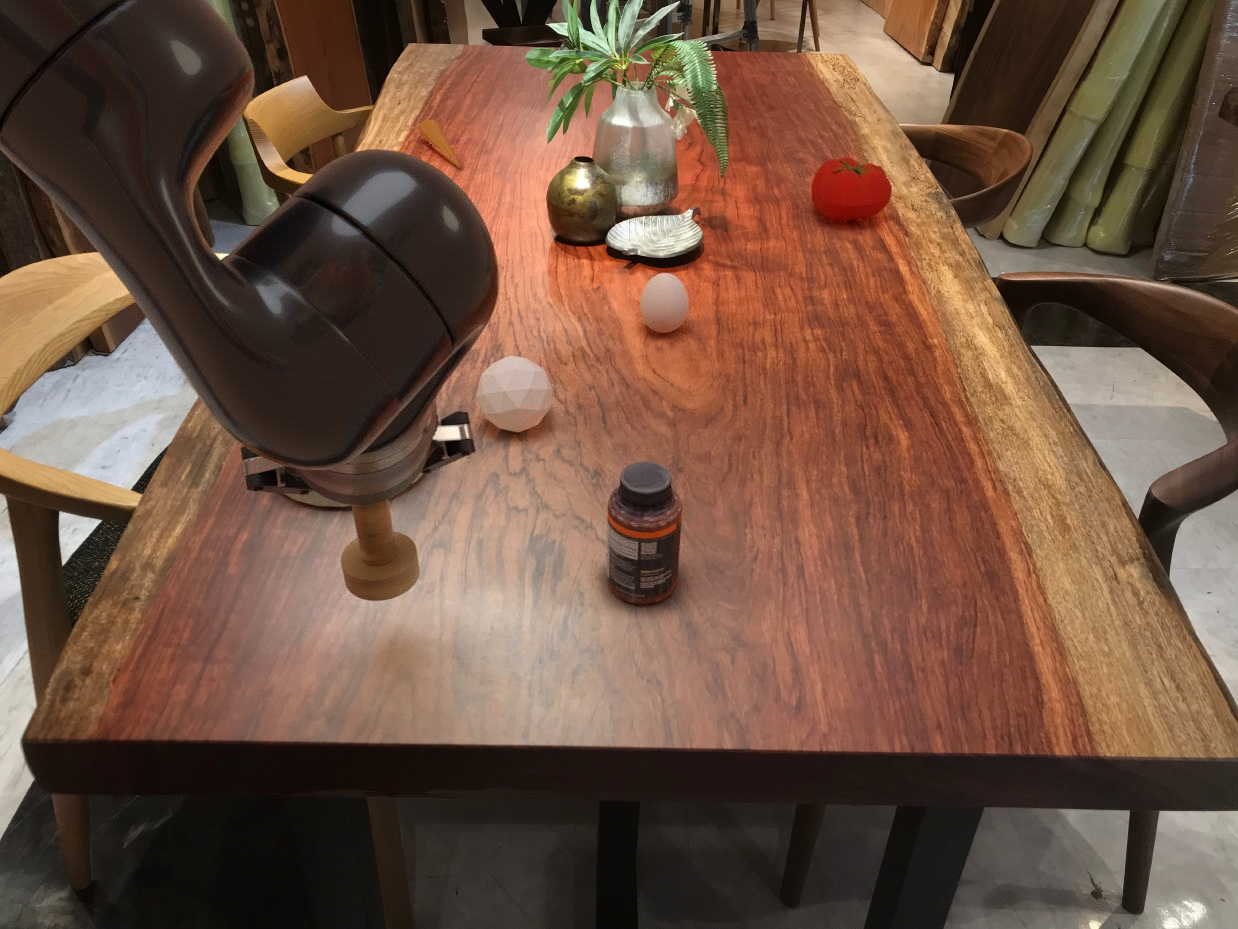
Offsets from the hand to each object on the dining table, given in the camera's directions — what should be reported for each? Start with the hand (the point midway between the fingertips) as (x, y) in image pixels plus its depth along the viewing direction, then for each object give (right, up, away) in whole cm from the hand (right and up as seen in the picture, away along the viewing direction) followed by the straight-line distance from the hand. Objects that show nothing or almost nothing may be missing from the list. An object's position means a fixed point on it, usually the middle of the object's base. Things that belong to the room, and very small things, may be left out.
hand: (364, 475), depth 61 cm
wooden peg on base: (+1, -7, +3) cm, 8 cm away
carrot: (-16, +59, +106) cm, 122 cm away
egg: (+23, +17, +51) cm, 59 cm away
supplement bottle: (+19, -9, +14) cm, 26 cm away
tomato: (+54, +41, +85) cm, 108 cm away
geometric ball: (+7, +5, +33) cm, 34 cm away
